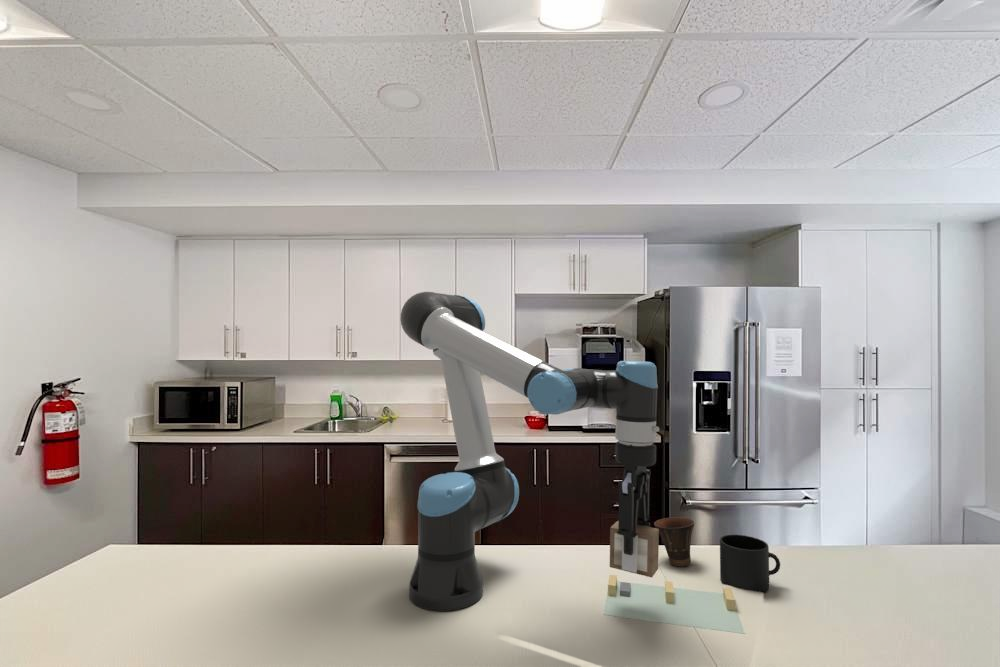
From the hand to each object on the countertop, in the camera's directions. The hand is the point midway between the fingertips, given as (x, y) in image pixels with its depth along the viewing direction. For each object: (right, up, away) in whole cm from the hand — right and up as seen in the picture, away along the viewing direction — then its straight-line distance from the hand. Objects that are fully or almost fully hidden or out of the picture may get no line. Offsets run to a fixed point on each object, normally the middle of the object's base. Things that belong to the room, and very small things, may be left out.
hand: (633, 565), depth 98 cm
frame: (0, -1, 0) cm, 1 cm away
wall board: (+7, -9, +2) cm, 12 cm away
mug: (+28, -10, +12) cm, 32 cm away
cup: (+16, -10, +24) cm, 30 cm away
